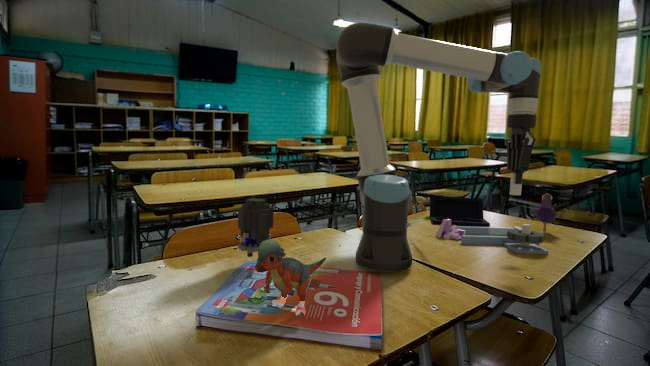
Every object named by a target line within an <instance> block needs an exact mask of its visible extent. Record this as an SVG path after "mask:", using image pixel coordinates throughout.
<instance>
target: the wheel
mask: <svg viewBox="0 0 650 366" xmlns="http://www.w3.org/2000/svg"><path fill="white" fill-rule="evenodd" d="M521 232H522V228H521V229H514V230H512V229H511V230H508V232H507V235H506V236H507V238H509V239H511V240H514V241H518V242H524V243H526V242H527V243H540V244H542V243H545V241H546V234H544V232H539V231H536V230H531V233H530V234H521Z"/></svg>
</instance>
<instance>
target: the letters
mask: <svg viewBox="0 0 650 366" xmlns="http://www.w3.org/2000/svg"><path fill="white" fill-rule="evenodd" d="M465 233H466V231H465V230H460V229H458V227H457V225H452V224H451V219H447V220H443V222H442V224H441V225H440V226H439V228H438V229H437V232H436V233H435V237H438V238H443V239H446V240H461V236H462V235H466V234H465Z"/></svg>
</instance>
